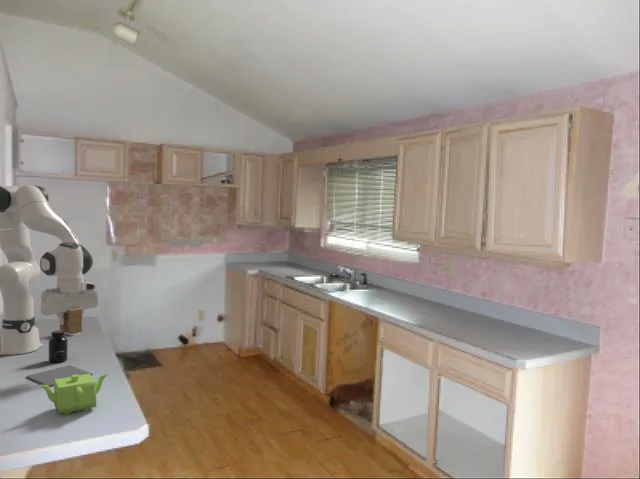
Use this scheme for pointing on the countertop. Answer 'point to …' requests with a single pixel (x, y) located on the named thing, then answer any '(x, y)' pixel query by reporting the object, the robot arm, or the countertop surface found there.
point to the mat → (56, 375)
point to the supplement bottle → (58, 347)
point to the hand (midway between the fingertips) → (70, 323)
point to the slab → (72, 321)
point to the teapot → (74, 393)
